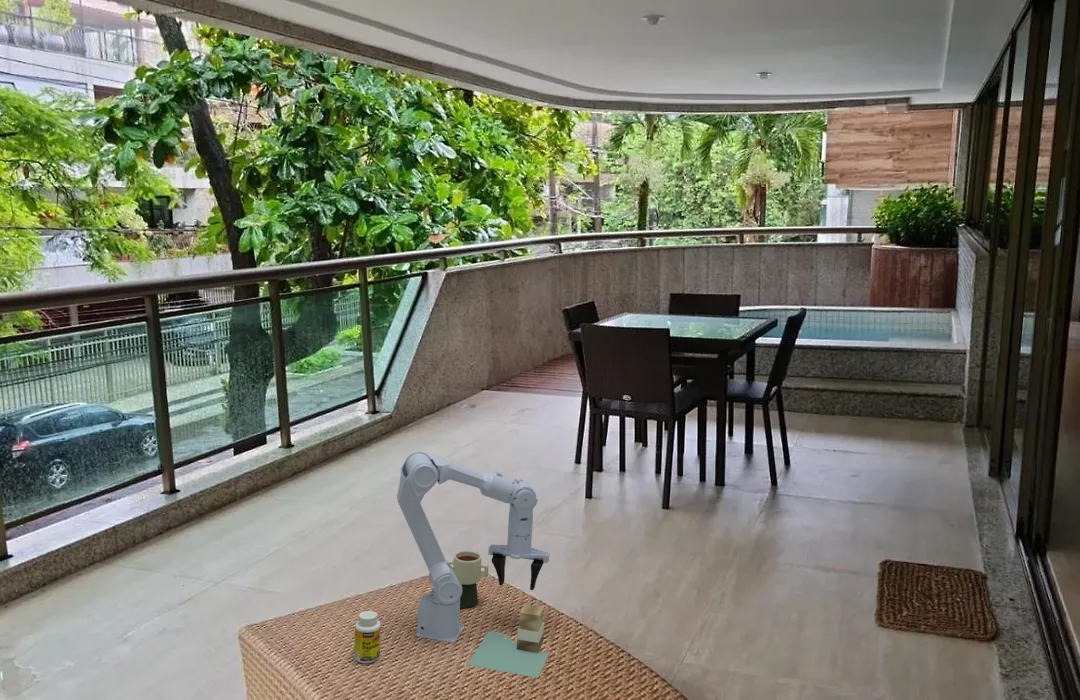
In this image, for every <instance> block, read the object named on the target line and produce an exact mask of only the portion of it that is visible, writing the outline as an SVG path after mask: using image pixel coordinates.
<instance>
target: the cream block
mask: <svg viewBox="0 0 1080 700" xmlns="http://www.w3.org/2000/svg"><path fill="white" fill-rule="evenodd" d="M543 633H545V622H543V624H542V626H541V628H540V630H539V632H534V631H528V630H522V629H519V627H518V628H517V635H516V636H517V639H519V640H524V641H530V642H536V643H539V641H540V639H541V637H542V635H543Z"/></svg>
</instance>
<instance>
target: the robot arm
mask: <svg viewBox="0 0 1080 700" xmlns="http://www.w3.org/2000/svg"><path fill="white" fill-rule="evenodd" d="M447 481H454V482H457V483H460V484H464V485H467V486H471V487H474V488H477V489H479V491H480V493H481V496H484V497H488V498H491V499H493V500H496V501H499V502H501V503H505V504H509V512H508V523H507V524H508V527H507V544H492V543H491V544H490V545H489V546H488V555H489V556H492V558H491V563H492V565H493V567H494V570H495V572H496V576H497V579H498V584H499V586H502V587H503V584H504V583H505V576H506V575H505V571H506V570H505V569H506V561H507V557H509V558H511V559H514V560H520V559H524V560H529V561H530V560H531V561H532V562H531V564H530V572H531V573H530V574H531V575H530V584H529V585H530V587H529V590H530V591H534V590H535V588H536V583H537V579H538V577H539V574H540V572H541V569H542V567H543V566H544V564H549V563H548V562H549V561H550V552H547V551H543V550H539V549H536V548H534V547H532V538H533V521H534V519H533V518H534V514H533V513H534V508H536V506H537V503H538V498H537V494H536V492H535V491H534V489H533V488H532V487H531V486H530V485H529V484H528V483H527V482H526V481H525V480H523V479H519V478H516V477H515V478H514V479H513V478H510V477H507V476H505V475H503V474H502V472H500V471H498V470H495V472H493V471H489V472H486V473H483V474H482V473H480V472H478V471H475V470H472V469H470V468H468V467H465V466H463V465H460V464H458V463H456V462H453V461H450V460H448V459H446V458H444V457H440V456H438V455H436V454H428V453H426V452H424V451H415V452H413V453H412V452H411V454H409V455H408V456H407V458H406V459H405V461H404V462H403V464H402V466H401V467H400V479H399V484H398V489H397V495H396V496H397V497H396V499H397V503H398V505H399V508H400V510H401V512H402V515H403V517H404V519H405V521H406V523H407V525H408V527H409V529H410V531H411V534H412V536H413V538H414V541H415V543H416V544H417V547H418V550H419V552H420V554H421V556H422V558H423V560H424V562H425V564H426V567H427V569H428V573H429V576H428V579H429V582H430V584H431V586H432V589H431V590H430V593H423V594H422V595H421V598H420V599H419V602H418V606H417V622H416V623H417V627H416V628H417V630H416V632H417V633H416V634H415V637H419V638H424V639H425V638H426V639H430V640H435V641H441V642H446V643H452V644H454V643H455V642H456V641H457V639H458V638H459V636H460V635H461V634H462V633H463V631H464V630H465V626H464V625H460V614H461V613H460V611H461V607H460V597H461V595H462V585H461V583H460V582H459V580H458V578H457V576H456V574H455V570H454V568H453V565H452V564H450V565H449V564H448V563H447V560H446V558H445V555H444V553H443V552H442V549H441V547H440V544H439V542H438V540H437V538H436V536H435V534H434V531H433V529H432V527H431V524H430V523H429V519H428V517H427V516H426V513H425V510H424V509H423V506H422V504H421V502H422V500H423V499H424V497H425V495H426V494H427V493H428V492H429V491H430V490H431V489H432V488H433V487H434V486H436V485H435V484H438V485H442V484H444V483H446V482H447Z"/></svg>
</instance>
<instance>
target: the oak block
mask: <svg viewBox="0 0 1080 700" xmlns="http://www.w3.org/2000/svg"><path fill="white" fill-rule="evenodd" d="M544 608H545V607H544V606H540V605H533V604H526V603H525V604H523V606H522V608H521V610H520V611H519V622H518V625H519V626H518V628H519V629H522V630H528V631H534V632H539V630H540V628H541V626H542V624H543V623H544Z"/></svg>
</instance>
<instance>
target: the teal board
mask: <svg viewBox="0 0 1080 700" xmlns="http://www.w3.org/2000/svg"><path fill="white" fill-rule="evenodd" d="M504 636H506V637H504ZM505 638H509V639H505ZM512 642H516V641H512V640H511V638H510V637H508V636H507V633H504V632H503V633H502V632H498V631H497V632H495V631H491V630H488V632H487V633H486V634H485V637H484V638H483V639H482V641H481V643H480V644H479V645H478V647H477V649H476V651H475V652H474V653H473V655H472V656H471V659H470V660H469V661H468V663H467V666H471V667H476V668H482V669H487V670H492V671H498V672H504V673H509V674H513V675H519V676H525V677H529V678H536V679H538V678H539V677H540V675H541V672H542V670H543V668H544V667H545V664H546V662H547V659H548V658H549V656H550V653H551V651H550V652H542V651H539V652H538V653H534V652H528V651H523V650H517V642H516V643H512ZM513 644H514V645H513Z"/></svg>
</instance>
